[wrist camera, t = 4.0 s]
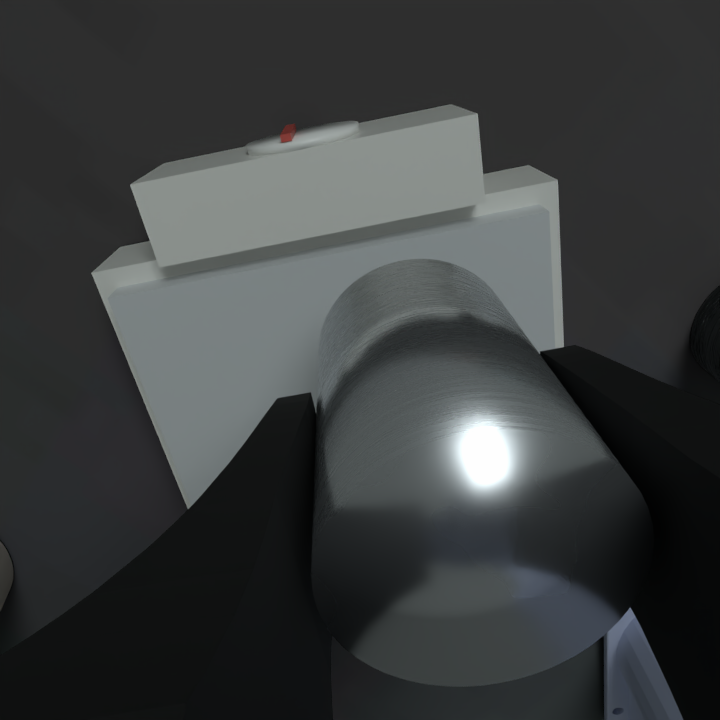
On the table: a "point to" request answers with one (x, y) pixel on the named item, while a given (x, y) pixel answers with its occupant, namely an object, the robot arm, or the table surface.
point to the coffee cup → (5, 574)
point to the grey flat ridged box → (308, 262)
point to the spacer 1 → (461, 489)
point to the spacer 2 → (707, 335)
